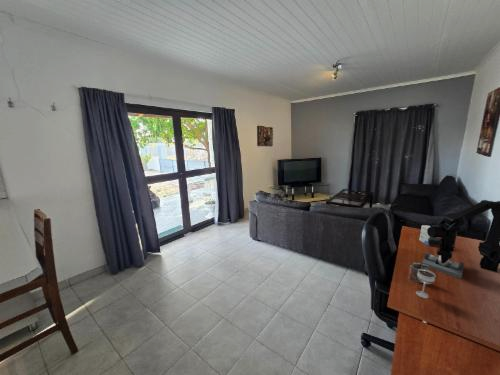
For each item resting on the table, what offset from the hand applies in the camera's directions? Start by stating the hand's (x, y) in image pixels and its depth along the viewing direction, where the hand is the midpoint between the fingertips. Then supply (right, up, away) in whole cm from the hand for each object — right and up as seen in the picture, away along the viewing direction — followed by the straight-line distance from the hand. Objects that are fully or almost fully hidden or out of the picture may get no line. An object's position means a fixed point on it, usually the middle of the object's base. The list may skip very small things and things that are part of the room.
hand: (443, 261), depth 125 cm
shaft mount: (0, -3, +1) cm, 3 cm away
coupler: (0, -1, 0) cm, 2 cm away
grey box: (-23, -7, -10) cm, 26 cm away
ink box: (+13, +4, +28) cm, 31 cm away
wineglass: (-29, -9, -20) cm, 36 cm away
